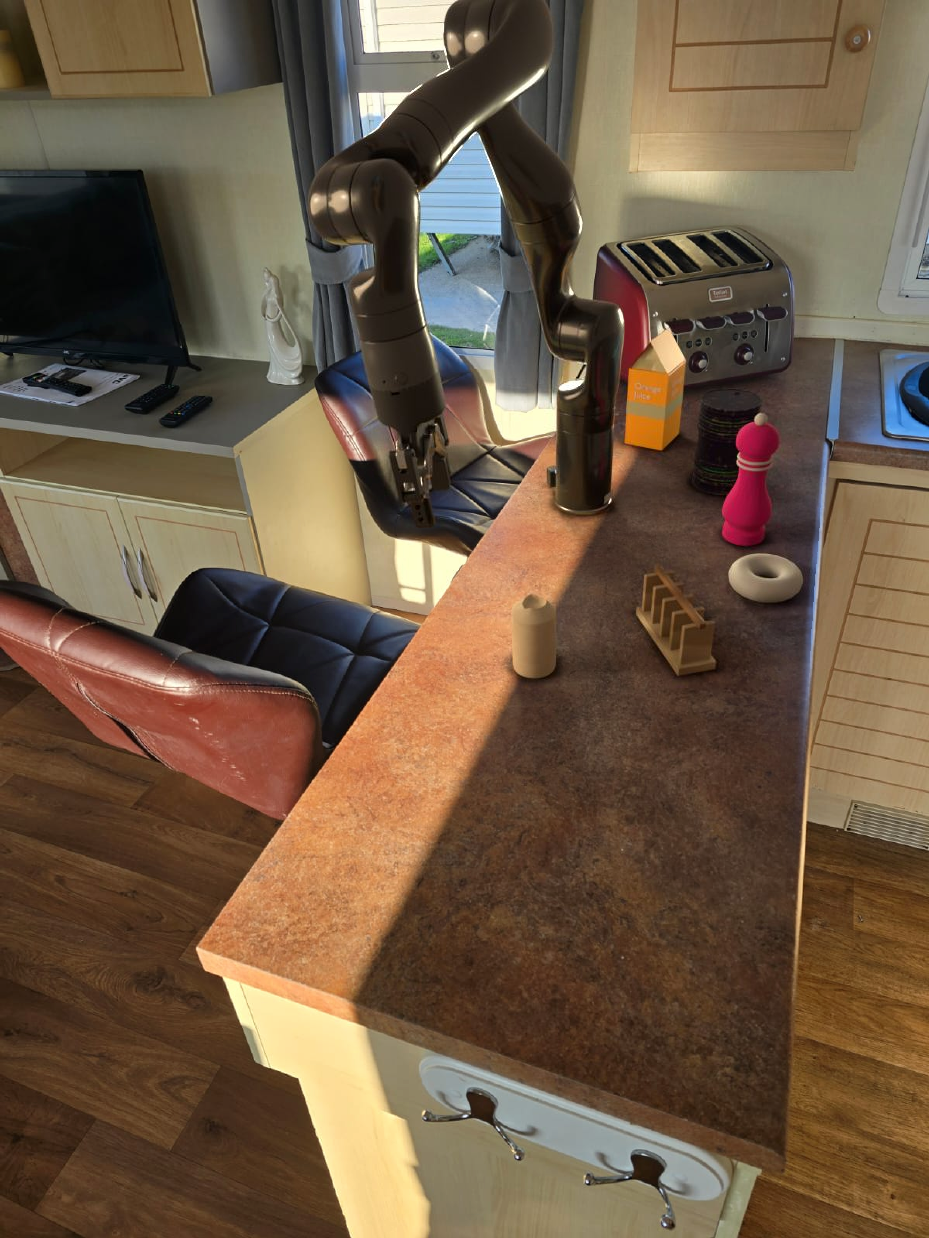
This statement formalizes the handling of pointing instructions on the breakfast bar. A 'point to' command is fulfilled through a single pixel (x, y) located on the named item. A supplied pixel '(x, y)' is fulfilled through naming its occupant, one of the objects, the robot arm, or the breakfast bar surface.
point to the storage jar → (721, 437)
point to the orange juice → (655, 394)
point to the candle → (534, 637)
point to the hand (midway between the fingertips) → (434, 506)
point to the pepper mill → (751, 484)
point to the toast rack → (676, 623)
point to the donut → (753, 587)
